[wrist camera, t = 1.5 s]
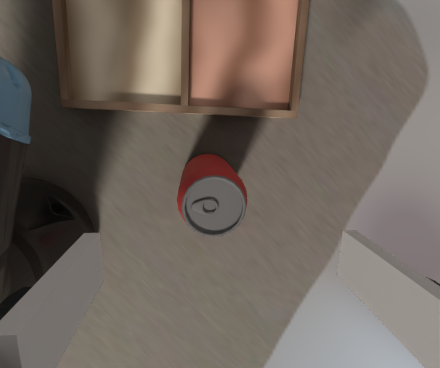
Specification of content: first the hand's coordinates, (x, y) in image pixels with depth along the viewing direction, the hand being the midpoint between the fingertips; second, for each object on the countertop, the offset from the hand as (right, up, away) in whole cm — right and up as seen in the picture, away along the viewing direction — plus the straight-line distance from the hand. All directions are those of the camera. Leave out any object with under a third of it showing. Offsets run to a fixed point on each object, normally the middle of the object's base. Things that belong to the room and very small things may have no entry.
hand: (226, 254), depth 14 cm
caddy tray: (-4, +19, +16) cm, 26 cm away
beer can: (-2, +5, +20) cm, 21 cm away
